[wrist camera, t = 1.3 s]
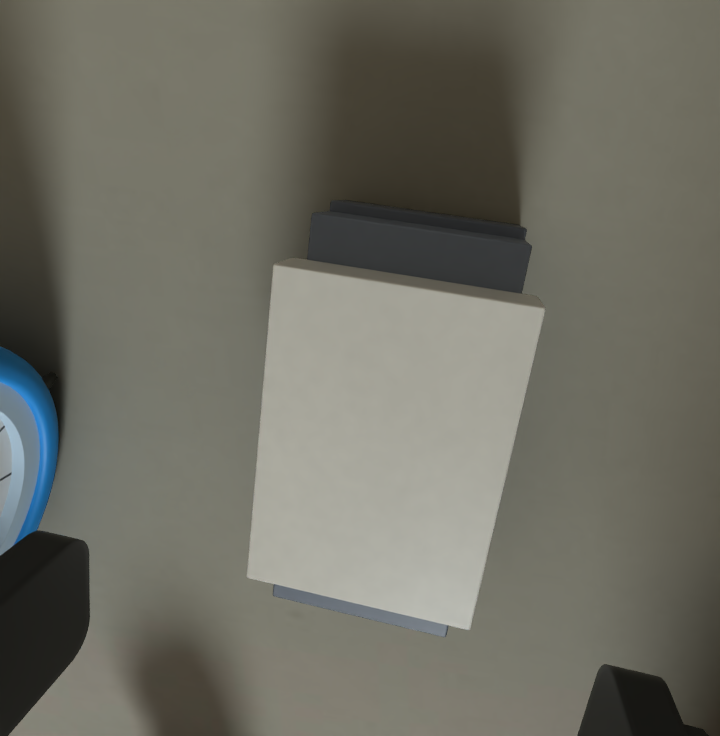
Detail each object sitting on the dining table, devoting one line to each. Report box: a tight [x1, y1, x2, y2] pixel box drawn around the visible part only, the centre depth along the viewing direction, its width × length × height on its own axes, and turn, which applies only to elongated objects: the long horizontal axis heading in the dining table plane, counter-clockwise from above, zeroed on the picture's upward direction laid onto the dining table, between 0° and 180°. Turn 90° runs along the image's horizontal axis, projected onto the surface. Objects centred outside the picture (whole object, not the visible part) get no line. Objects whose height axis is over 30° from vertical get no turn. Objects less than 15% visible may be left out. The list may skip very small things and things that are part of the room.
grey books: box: [273, 200, 532, 637], centre depth 18 cm, size 12×6×4 cm, turn 172°
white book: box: [247, 257, 546, 630], centre depth 15 cm, size 9×6×2 cm
